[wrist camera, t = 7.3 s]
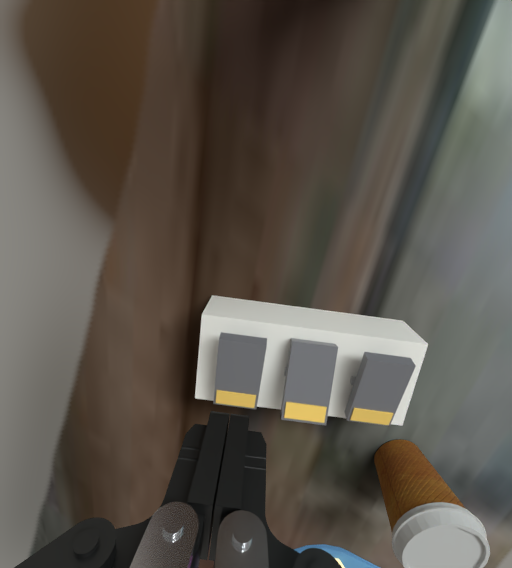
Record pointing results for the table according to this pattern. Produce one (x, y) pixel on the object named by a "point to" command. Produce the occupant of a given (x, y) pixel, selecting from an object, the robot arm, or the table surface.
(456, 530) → the disposable coffee cup
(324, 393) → the block
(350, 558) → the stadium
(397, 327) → the console
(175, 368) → the table surface
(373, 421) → the rocker
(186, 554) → the robot arm
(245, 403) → the rocker
